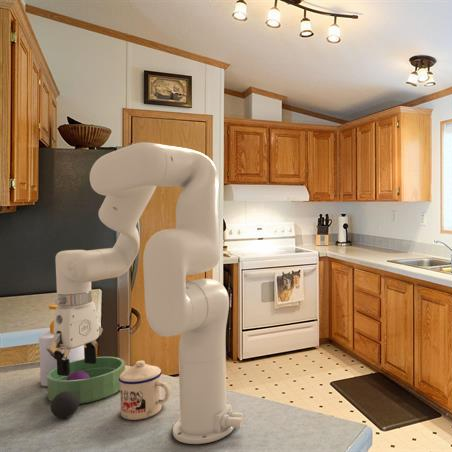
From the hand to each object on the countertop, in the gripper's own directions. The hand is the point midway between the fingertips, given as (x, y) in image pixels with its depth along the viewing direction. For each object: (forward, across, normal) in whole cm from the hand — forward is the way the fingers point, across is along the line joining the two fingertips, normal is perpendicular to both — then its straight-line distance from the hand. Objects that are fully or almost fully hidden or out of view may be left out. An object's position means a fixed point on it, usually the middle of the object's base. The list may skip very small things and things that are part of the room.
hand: (77, 368), depth 108 cm
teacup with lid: (+7, -4, -23) cm, 24 cm away
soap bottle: (+7, +9, +14) cm, 18 cm away
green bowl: (+7, +3, 0) cm, 8 cm away
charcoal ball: (+7, -10, -6) cm, 13 cm away
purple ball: (+6, 0, 0) cm, 6 cm away
